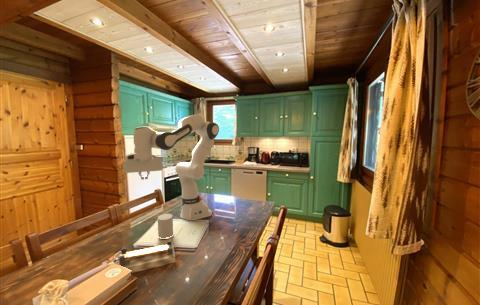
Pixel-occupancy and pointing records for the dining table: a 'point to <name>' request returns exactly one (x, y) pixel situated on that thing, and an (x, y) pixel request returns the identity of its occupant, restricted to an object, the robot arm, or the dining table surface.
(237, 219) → the dining table surface
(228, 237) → the dining table surface
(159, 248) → the brown wooden bar
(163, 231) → the cup
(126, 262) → the latch board
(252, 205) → the dining table surface
